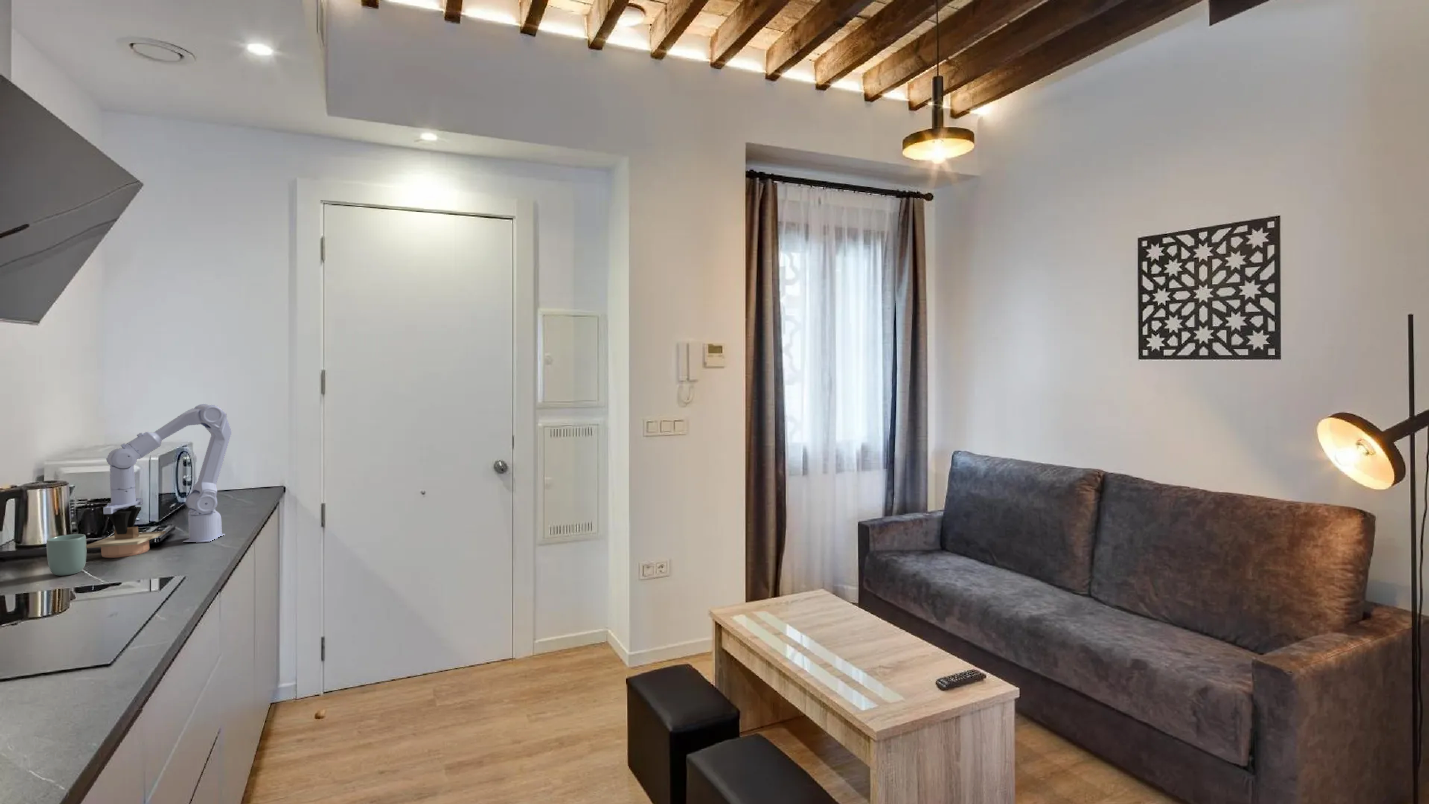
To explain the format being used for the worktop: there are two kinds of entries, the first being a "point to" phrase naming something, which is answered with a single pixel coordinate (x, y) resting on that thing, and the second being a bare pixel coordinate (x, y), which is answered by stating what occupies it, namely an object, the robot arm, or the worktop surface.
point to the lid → (126, 538)
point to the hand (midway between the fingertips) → (125, 532)
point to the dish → (124, 550)
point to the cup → (66, 554)
